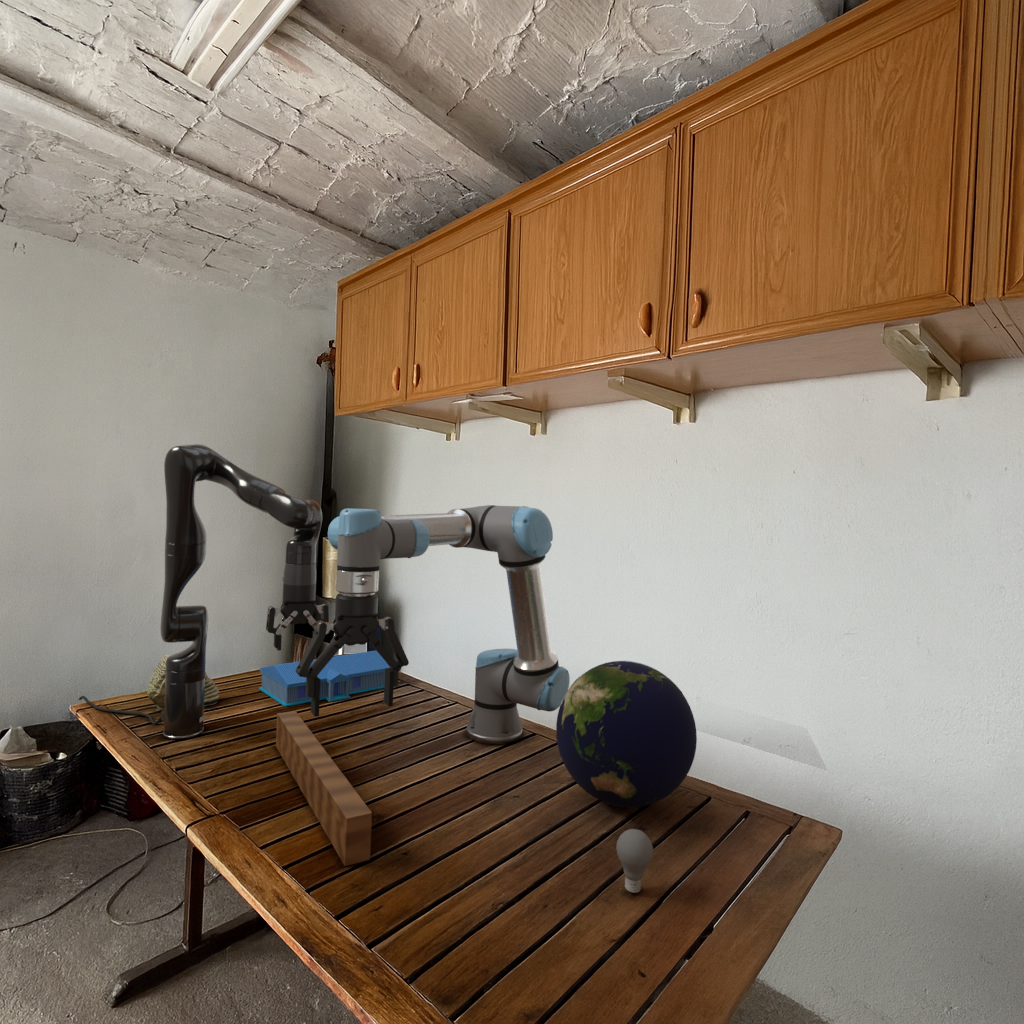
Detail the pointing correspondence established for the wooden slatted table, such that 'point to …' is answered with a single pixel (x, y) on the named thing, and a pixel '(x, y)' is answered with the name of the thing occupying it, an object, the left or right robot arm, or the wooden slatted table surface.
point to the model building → (326, 678)
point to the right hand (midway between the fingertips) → (352, 709)
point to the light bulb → (634, 857)
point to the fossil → (158, 687)
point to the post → (325, 789)
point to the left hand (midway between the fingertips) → (297, 648)
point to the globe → (626, 734)
